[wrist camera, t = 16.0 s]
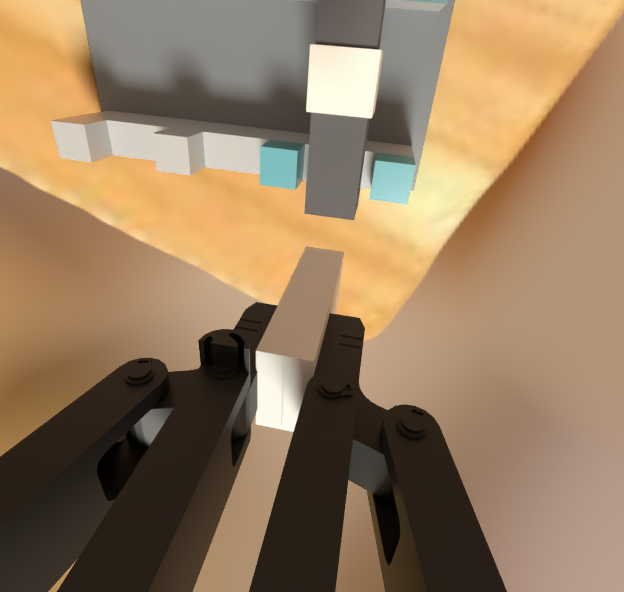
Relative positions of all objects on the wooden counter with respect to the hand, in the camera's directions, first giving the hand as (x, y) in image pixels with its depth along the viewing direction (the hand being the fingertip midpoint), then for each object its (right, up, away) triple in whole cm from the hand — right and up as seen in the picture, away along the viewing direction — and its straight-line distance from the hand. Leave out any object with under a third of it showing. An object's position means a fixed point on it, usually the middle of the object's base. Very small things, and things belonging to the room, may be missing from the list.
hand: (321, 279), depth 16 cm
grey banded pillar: (+2, +16, +14) cm, 21 cm away
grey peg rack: (-5, +20, +20) cm, 29 cm away
